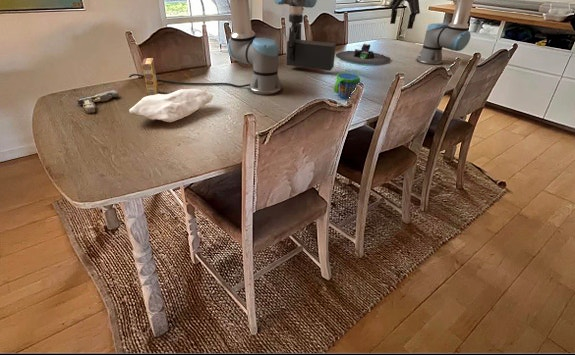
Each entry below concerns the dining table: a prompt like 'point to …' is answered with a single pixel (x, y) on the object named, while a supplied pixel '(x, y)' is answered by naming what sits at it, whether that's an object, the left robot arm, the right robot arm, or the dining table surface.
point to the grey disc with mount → (363, 56)
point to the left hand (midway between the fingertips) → (294, 57)
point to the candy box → (150, 76)
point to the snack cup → (346, 84)
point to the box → (312, 54)
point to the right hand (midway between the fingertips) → (400, 26)
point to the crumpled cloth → (171, 104)
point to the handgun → (95, 100)
